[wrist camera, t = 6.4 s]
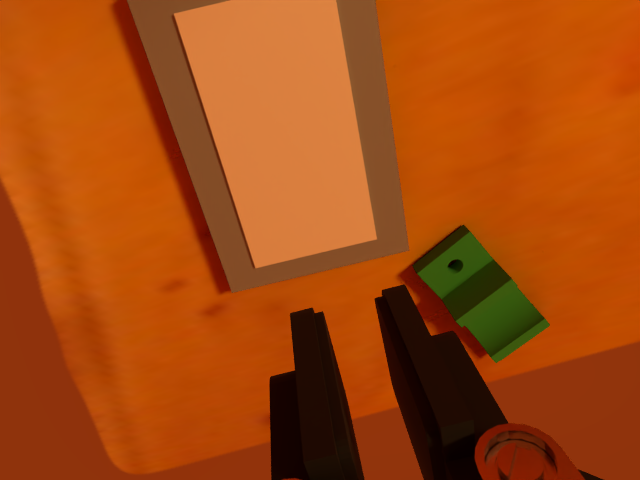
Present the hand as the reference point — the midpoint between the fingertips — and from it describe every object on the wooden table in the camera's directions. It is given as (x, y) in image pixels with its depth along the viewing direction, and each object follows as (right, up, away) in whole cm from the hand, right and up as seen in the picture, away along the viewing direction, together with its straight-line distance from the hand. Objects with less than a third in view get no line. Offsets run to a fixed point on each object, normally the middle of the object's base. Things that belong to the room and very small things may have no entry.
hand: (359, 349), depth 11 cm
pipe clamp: (+13, +1, +19) cm, 23 cm away
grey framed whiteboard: (-3, +9, +17) cm, 19 cm away
